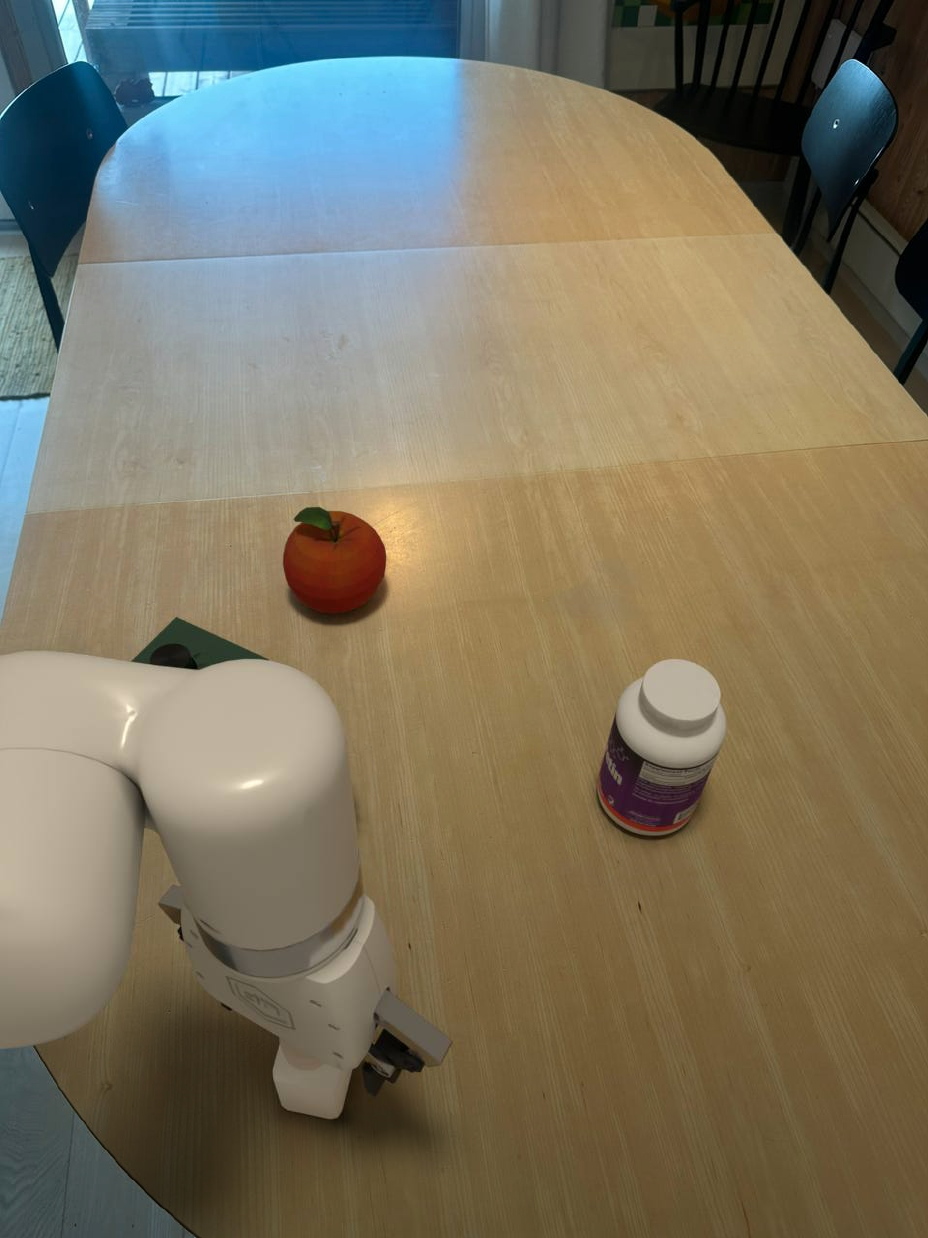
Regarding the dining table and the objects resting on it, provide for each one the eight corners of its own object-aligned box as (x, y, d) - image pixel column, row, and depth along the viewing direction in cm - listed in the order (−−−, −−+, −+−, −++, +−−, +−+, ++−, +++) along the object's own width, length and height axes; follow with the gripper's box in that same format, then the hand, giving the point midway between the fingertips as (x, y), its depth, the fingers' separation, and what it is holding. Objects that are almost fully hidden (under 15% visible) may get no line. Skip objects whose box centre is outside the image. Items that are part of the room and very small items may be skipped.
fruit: (375, 637, 89) (372, 559, 82) (275, 622, 90) (262, 543, 83) (397, 566, 96) (396, 488, 88) (303, 553, 97) (294, 474, 89)
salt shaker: (356, 1059, 64) (349, 1004, 57) (339, 1124, 61) (330, 1075, 54) (297, 1047, 65) (283, 991, 58) (279, 1111, 62) (262, 1060, 55)
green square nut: (185, 784, 78) (174, 748, 74) (90, 734, 81) (74, 697, 77) (273, 682, 85) (267, 645, 82) (182, 640, 88) (172, 602, 84)
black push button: (177, 694, 78) (172, 678, 77) (146, 679, 79) (141, 663, 78) (202, 668, 80) (198, 652, 79) (171, 653, 81) (167, 637, 80)
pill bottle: (599, 749, 82) (627, 636, 71) (694, 765, 81) (737, 653, 71) (591, 832, 76) (620, 723, 66) (693, 850, 76) (739, 743, 65)
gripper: (68, 869, 43) (151, 1013, 56) (403, 1061, 38) (410, 1171, 51) (177, 747, 48) (230, 906, 60) (489, 904, 43) (476, 1041, 55)
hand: (312, 1027), depth 56 cm, fingers open, 9 cm apart
